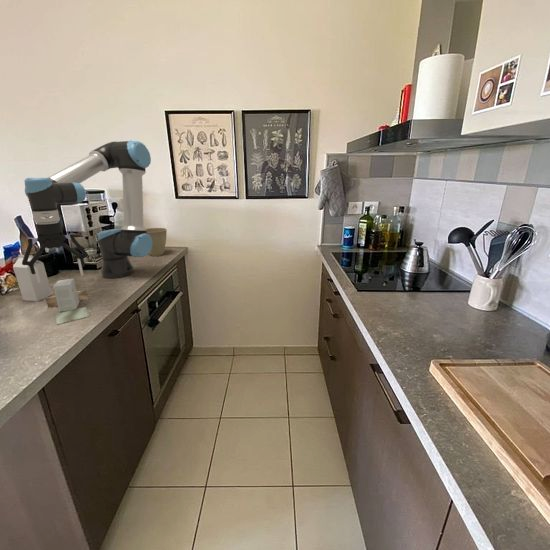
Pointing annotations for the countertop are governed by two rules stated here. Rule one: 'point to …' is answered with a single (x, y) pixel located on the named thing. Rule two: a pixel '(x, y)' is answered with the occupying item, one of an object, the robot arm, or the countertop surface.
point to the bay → (70, 314)
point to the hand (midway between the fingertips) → (61, 278)
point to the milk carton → (31, 280)
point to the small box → (66, 295)
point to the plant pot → (157, 240)
